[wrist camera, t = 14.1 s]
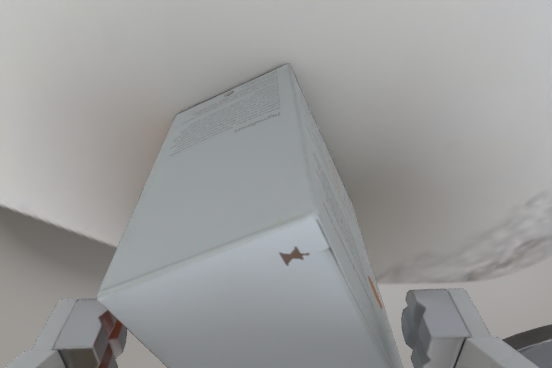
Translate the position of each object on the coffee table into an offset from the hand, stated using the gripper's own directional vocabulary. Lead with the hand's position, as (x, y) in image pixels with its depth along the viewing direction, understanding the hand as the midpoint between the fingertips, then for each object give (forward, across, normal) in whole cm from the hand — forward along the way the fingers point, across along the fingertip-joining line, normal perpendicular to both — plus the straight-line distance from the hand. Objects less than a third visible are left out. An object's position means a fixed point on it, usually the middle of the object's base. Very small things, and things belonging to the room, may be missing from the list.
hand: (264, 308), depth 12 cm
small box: (+9, 0, 0) cm, 9 cm away
